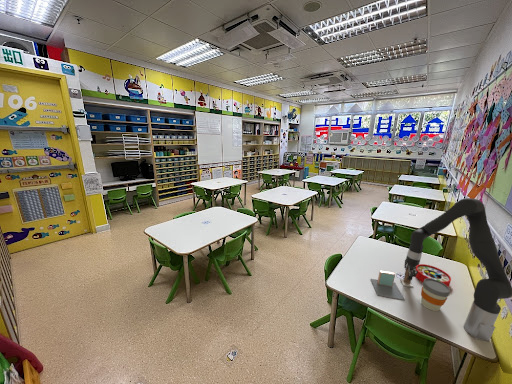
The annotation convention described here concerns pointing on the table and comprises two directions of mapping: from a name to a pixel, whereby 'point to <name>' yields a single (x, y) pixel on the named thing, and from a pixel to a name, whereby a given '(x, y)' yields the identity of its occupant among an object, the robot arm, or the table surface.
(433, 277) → the toy clock
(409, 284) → the scraper
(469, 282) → the table surface
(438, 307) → the reusable coffee cup
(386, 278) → the tile
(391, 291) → the mat
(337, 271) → the table surface
